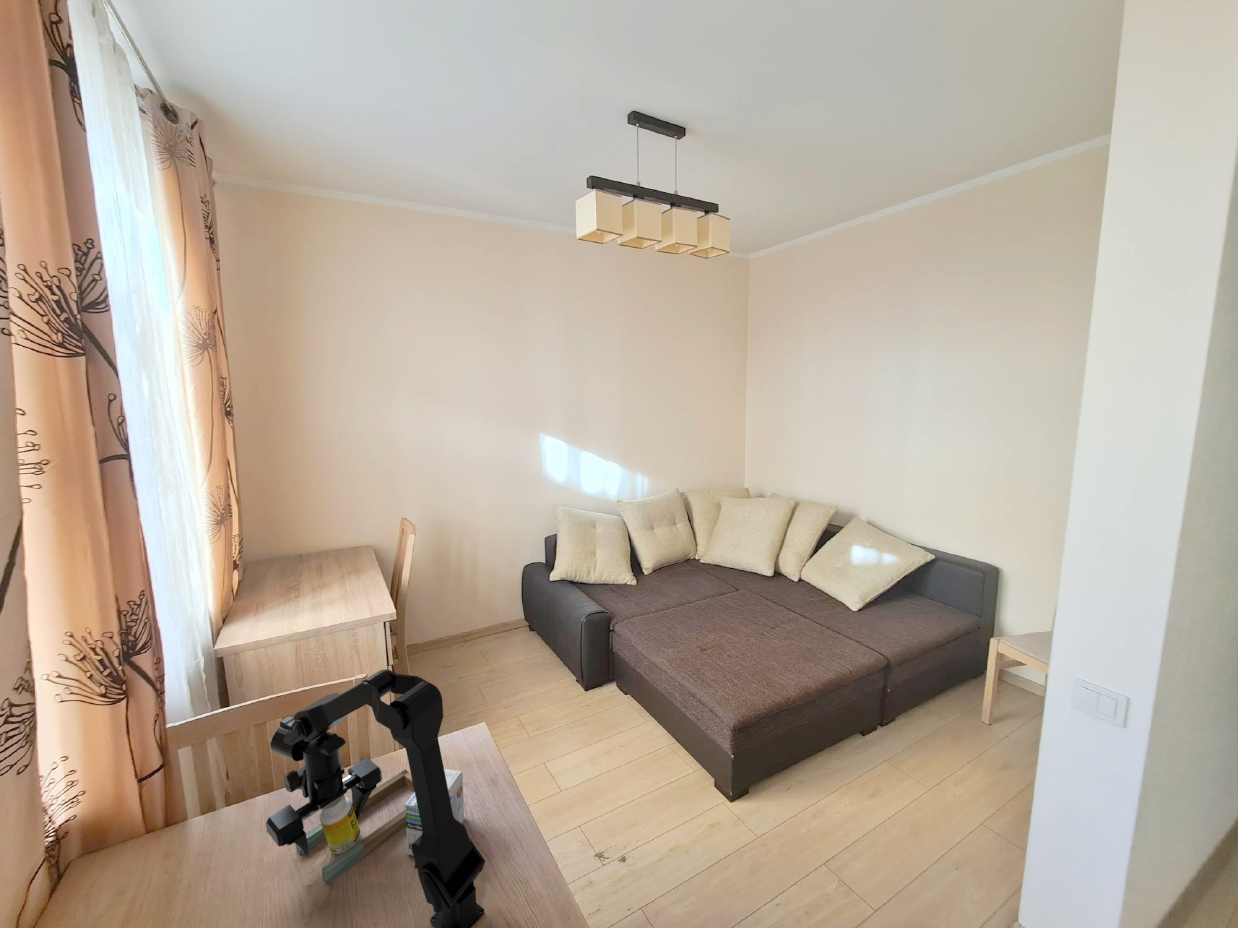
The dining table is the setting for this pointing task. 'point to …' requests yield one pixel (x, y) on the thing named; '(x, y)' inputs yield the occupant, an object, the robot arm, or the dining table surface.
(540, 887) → the dining table surface
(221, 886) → the dining table surface
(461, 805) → the light bulb box
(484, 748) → the dining table surface
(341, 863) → the bay
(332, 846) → the supplement bottle
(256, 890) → the dining table surface
